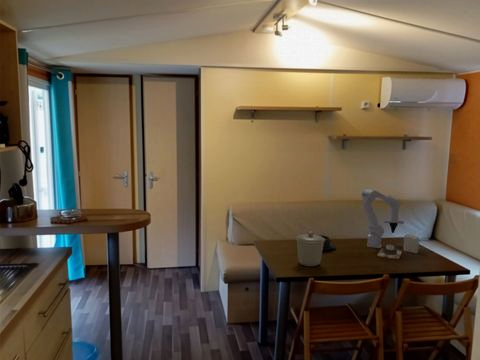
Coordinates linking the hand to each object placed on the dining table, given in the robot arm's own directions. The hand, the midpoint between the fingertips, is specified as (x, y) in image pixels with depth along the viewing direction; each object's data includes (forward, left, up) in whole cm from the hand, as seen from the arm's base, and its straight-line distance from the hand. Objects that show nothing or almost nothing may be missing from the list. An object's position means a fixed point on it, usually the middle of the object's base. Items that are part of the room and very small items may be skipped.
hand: (392, 232), depth 311 cm
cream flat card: (+2, -27, -9) cm, 29 cm away
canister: (-40, -77, -10) cm, 87 cm away
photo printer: (+14, -12, -10) cm, 21 cm away
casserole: (-45, -40, -10) cm, 61 cm away
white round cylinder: (+2, -27, -8) cm, 28 cm away
